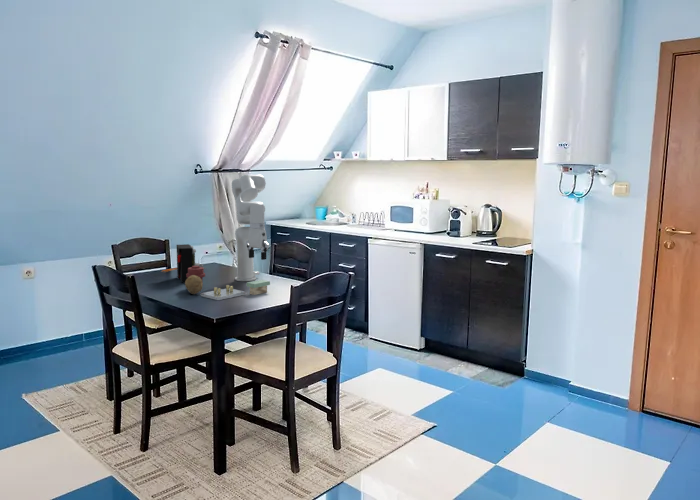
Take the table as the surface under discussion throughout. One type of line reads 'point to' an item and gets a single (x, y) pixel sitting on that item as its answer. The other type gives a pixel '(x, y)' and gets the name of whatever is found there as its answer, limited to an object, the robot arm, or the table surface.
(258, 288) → the oak block
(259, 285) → the board
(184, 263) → the electrical component
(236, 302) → the table surface
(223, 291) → the plate
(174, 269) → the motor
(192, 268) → the mechanical component
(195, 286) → the natural sponge
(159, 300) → the table surface
